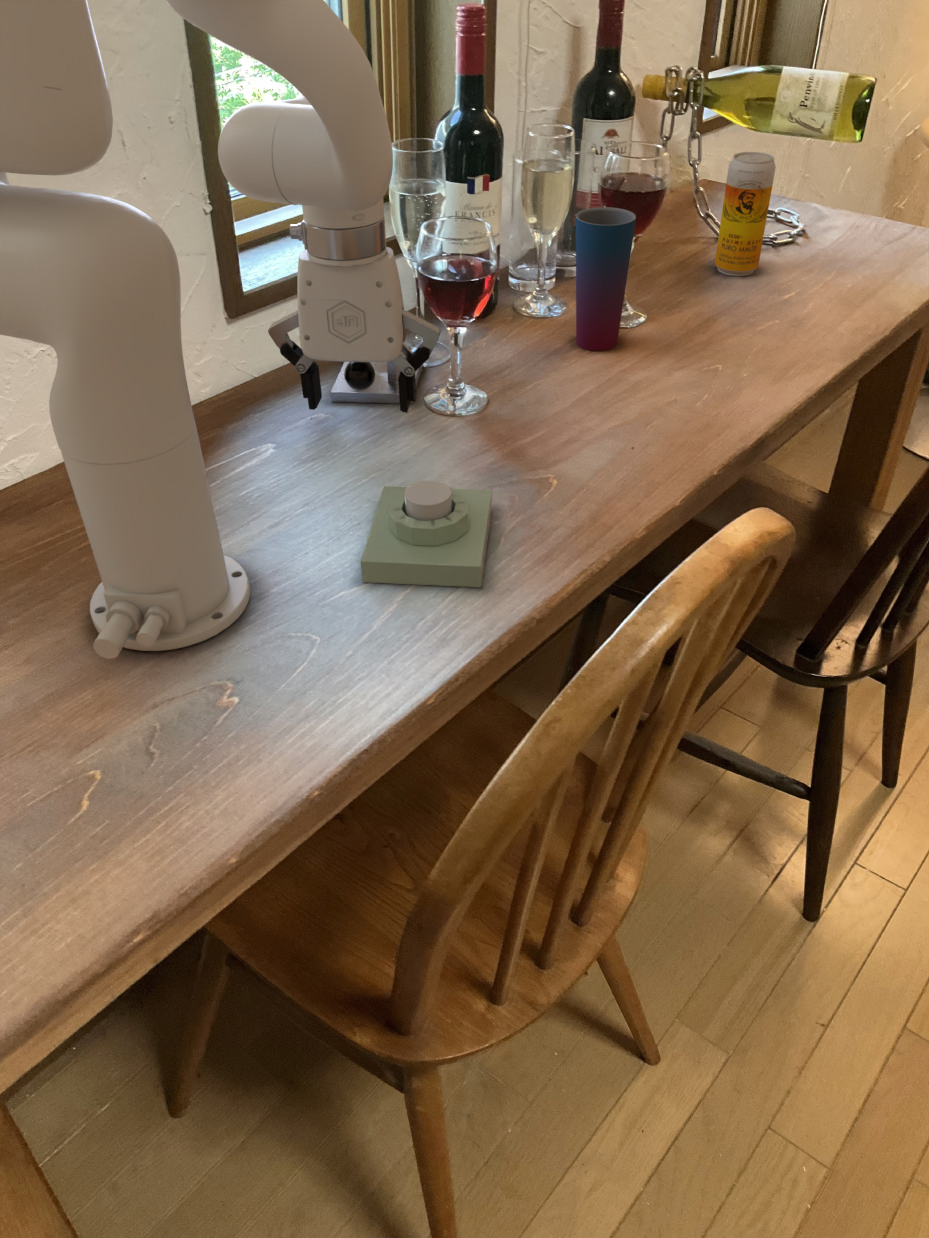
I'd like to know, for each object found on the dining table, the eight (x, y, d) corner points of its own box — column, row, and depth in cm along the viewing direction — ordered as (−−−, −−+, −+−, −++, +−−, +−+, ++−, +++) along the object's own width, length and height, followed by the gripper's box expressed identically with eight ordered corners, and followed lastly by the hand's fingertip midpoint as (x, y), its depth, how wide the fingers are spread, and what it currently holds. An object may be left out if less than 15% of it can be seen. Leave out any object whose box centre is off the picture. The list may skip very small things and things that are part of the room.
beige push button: (449, 523, 81) (448, 505, 80) (402, 521, 81) (401, 504, 80) (454, 498, 84) (453, 481, 83) (409, 496, 84) (407, 479, 83)
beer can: (714, 276, 135) (731, 162, 126) (713, 262, 140) (729, 150, 131) (758, 278, 135) (779, 163, 125) (755, 263, 139) (775, 151, 130)
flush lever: (375, 396, 100) (370, 378, 97) (345, 396, 101) (339, 378, 98) (389, 287, 105) (385, 267, 102) (360, 287, 105) (355, 267, 102)
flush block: (481, 588, 80) (480, 548, 77) (362, 582, 80) (358, 543, 78) (492, 510, 89) (492, 472, 86) (385, 506, 90) (382, 468, 87)
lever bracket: (411, 404, 106) (405, 289, 98) (331, 401, 107) (318, 287, 99) (423, 366, 114) (418, 256, 106) (348, 364, 114) (337, 255, 106)
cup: (627, 354, 115) (639, 224, 106) (570, 354, 116) (577, 225, 106) (621, 331, 121) (632, 206, 111) (567, 332, 121) (573, 207, 111)
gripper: (245, 249, 88) (271, 419, 99) (432, 252, 87) (437, 424, 97) (266, 224, 94) (288, 387, 105) (441, 227, 92) (446, 392, 103)
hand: (360, 405), depth 101 cm, fingers open, 9 cm apart
